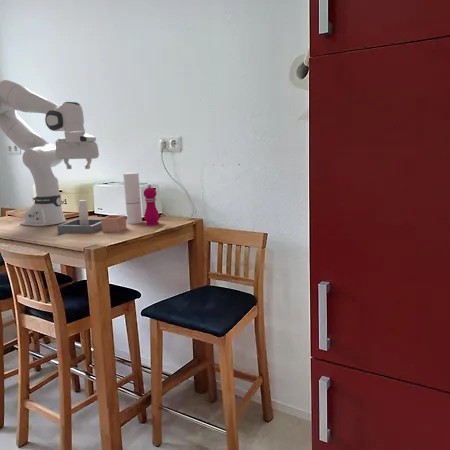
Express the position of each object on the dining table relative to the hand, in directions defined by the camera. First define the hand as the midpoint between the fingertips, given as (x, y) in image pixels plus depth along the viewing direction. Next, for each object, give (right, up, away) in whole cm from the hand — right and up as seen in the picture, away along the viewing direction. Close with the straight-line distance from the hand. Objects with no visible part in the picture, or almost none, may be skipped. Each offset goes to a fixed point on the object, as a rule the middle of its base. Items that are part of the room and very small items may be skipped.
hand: (78, 168), depth 216 cm
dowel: (+1, -27, +6) cm, 28 cm away
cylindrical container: (+23, -25, +17) cm, 38 cm away
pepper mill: (+32, -26, +10) cm, 43 cm away
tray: (+1, -28, +6) cm, 29 cm away
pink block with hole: (+16, -29, +1) cm, 33 cm away
